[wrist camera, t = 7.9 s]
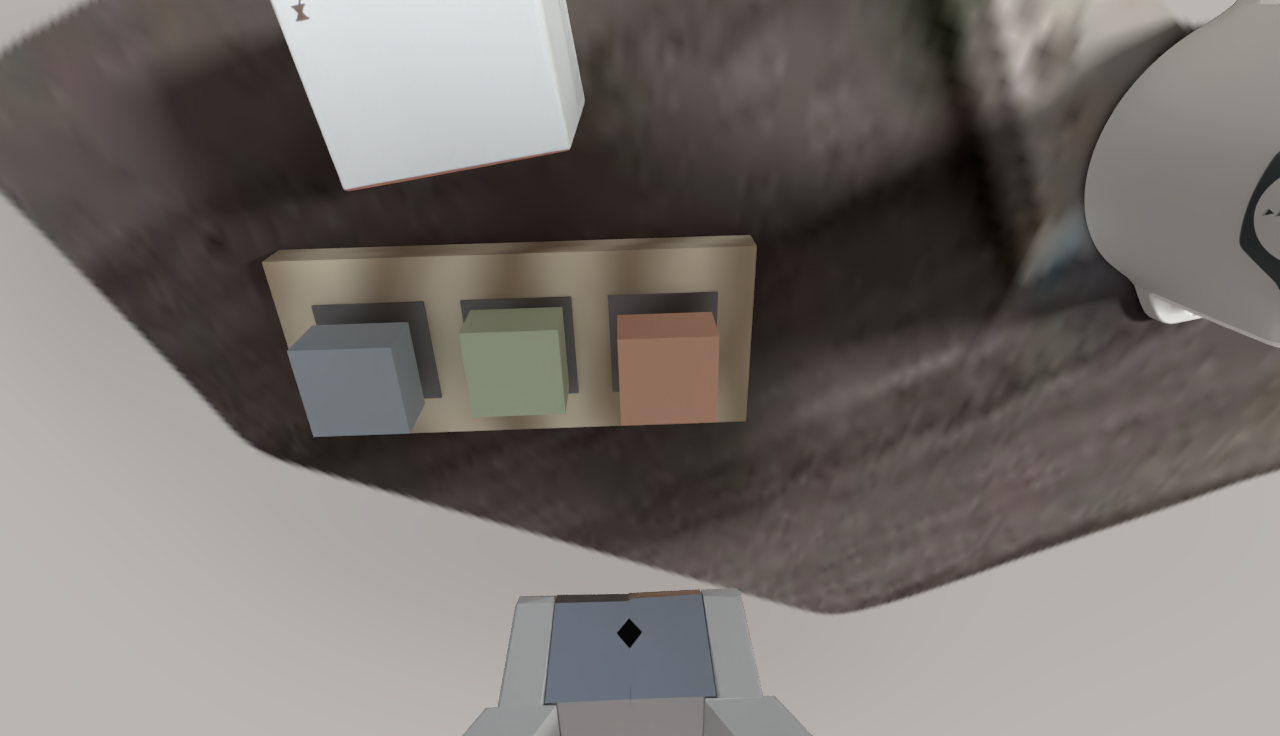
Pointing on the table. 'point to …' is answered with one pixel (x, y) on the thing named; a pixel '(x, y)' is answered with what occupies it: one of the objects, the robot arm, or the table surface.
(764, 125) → the table surface
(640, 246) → the button board
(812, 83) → the table surface
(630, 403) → the terracotta button
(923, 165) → the table surface
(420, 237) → the table surface
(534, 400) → the sage button
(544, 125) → the small box
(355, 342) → the slate button
